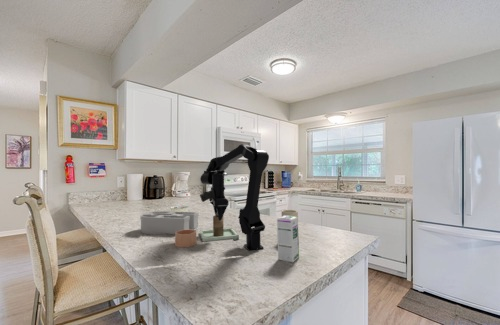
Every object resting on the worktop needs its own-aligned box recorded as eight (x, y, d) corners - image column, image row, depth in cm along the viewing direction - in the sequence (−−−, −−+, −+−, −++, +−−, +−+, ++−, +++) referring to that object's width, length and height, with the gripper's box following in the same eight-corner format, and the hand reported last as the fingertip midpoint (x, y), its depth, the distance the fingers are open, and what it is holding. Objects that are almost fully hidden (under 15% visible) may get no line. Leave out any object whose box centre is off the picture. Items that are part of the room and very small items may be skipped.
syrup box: (293, 263, 76) (292, 219, 77) (277, 259, 79) (276, 217, 80) (299, 257, 81) (298, 216, 82) (283, 254, 84) (283, 214, 85)
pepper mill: (224, 236, 105) (224, 213, 106) (214, 237, 104) (213, 214, 104) (222, 233, 110) (222, 211, 110) (212, 234, 109) (212, 212, 109)
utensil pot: (197, 247, 93) (197, 233, 93) (174, 249, 90) (174, 235, 90) (195, 241, 101) (195, 228, 102) (174, 243, 99) (174, 230, 99)
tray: (238, 239, 103) (238, 235, 103) (202, 243, 98) (202, 238, 98) (231, 231, 116) (231, 227, 116) (199, 234, 111) (199, 230, 111)
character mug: (297, 245, 94) (296, 213, 95) (280, 244, 96) (279, 213, 97) (299, 237, 105) (298, 209, 105) (283, 236, 107) (283, 208, 107)
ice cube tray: (184, 236, 109) (184, 218, 110) (133, 233, 115) (133, 216, 115) (198, 228, 126) (198, 212, 126) (153, 226, 131) (153, 211, 132)
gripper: (199, 184, 114) (199, 215, 114) (202, 186, 97) (202, 224, 96) (221, 183, 118) (221, 214, 117) (228, 186, 100) (228, 222, 99)
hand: (218, 218), depth 107 cm, fingers open, 9 cm apart
